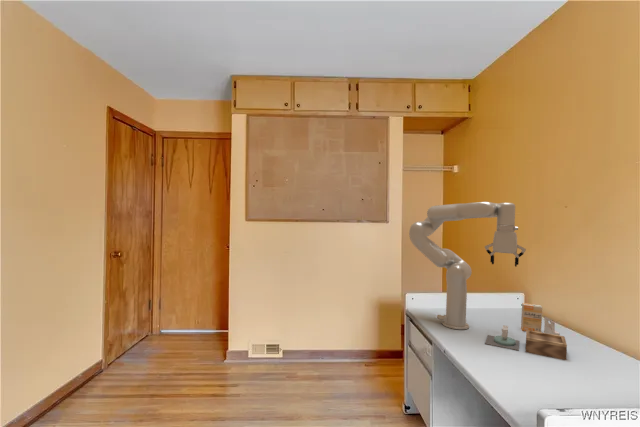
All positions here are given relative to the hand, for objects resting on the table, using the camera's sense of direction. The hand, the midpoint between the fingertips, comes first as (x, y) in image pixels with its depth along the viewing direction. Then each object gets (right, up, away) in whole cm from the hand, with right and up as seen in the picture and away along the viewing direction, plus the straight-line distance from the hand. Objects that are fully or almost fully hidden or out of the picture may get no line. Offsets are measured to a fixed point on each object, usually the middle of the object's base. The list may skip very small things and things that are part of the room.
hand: (504, 265), depth 168 cm
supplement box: (+18, -34, +9) cm, 39 cm away
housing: (+8, -34, -18) cm, 39 cm away
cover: (-5, -33, -10) cm, 35 cm away
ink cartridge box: (+20, -34, -4) cm, 40 cm away
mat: (-6, -33, -10) cm, 35 cm away
